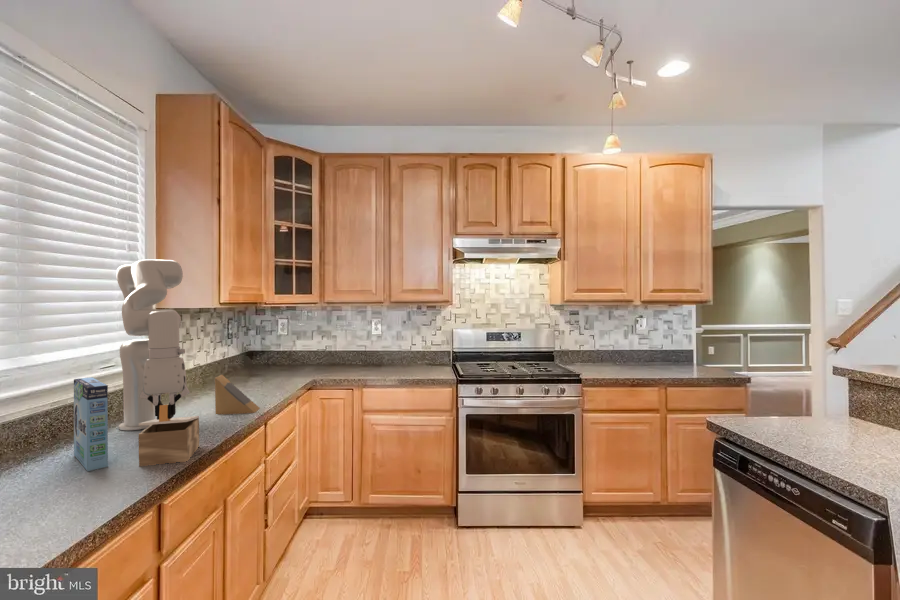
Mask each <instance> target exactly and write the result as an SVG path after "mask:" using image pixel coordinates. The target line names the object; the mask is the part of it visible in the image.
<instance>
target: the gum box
mask: <svg viewBox="0 0 900 600" xmlns="http://www.w3.org/2000/svg"><path fill="white" fill-rule="evenodd" d="M108 386H109V385H108V384H106V383H104V382H102V381H100V380H99V379H97V378H94V377H93V376H91V377H90V376H89V377H83V378H75V379H73V455H74V458H76V459H77V460H78V462H79V463H80V464H81V465H82V467H83V468H84V469H85V471H86V472H87V473H88V472H93V471H97V469H98V470H101V469H106V468H108V467H109V454H108V453H109V452H108V451H109V450H108V449H109V448H108V445H109V436H108V435H109V434H108V433H109V432H108V429H109V428H108V427H109V422H108V420H109V418H108V417H109V416H108V414H109V412H108V409H109V407H108V400H109V399H108V392H109V391H108V390H109V389H108V388H109V387H108Z"/></svg>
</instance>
